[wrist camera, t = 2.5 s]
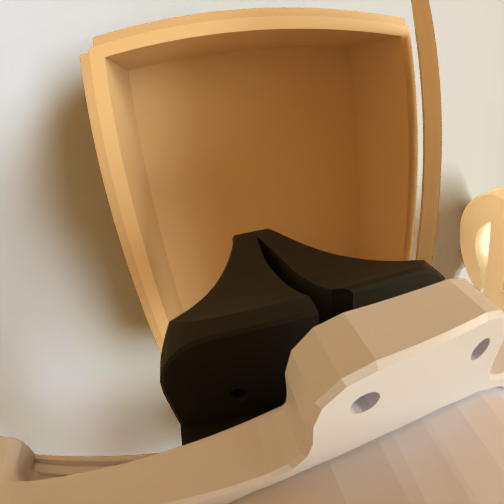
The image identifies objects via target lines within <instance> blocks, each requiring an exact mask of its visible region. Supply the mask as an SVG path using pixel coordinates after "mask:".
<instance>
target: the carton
mask: <svg viewBox="0 0 504 504" xmlns="http://www.w3.org/2000/svg"><path fill="white" fill-rule="evenodd" d="M92 39H93V47H91V48H89V53H87V54H84V55H81V56H80V61H81V69H82V76H83V83H84V90H85V96H86V102H87V108H88V113H89V119H90V124H91V129H92V134H93V139H94V144H95V149H96V153H97V158H98V162H99V166H100V170H101V175H102V179H103V183H104V187H105V191H106V194H107V198H108V202H109V206H110V209H111V213H112V216H113V220H114V223H115V227H116V230H117V233H118V237H119V240H120V243H121V247H122V250H123V253H124V256H125V259H126V262H127V265H128V268H129V271H130V274H131V277H132V280H133V283H134V286H135V288H136V291H137V294H138V297H139V300H140V302H141V305H142V308H143V310H144V313H145V316H146V318H147V321H148V323H149V326H150V328H151V331H152V333H153V336H154V338H155V341H156V343H157V346H158V348H159V351H160V353H161V352H162V347H163V342H164V338H165V334H166V330H167V327H168V324H169V322H170V321H171V320H172V319H174V318H176V317H177V316H179V315H181V314H182V313H184V312H185V311H187V310H189V309H190V308H191V307H193V306H194V305H195V304H197V303H198V302H199V301H200V300H201V299H202V298H203V297H205V296H206V295H207V294H208V292H209V291H210V290H211V289H212V288H213V287H214V285H215V284H216V283H217V281H218V280H219V278H220V276H221V275H222V273H223V271H224V269H225V266H226V264H227V262H228V260H229V257H230V253H231V250H232V245H233V241H232V238H233V237H234V235H238V234H243V233H247V232H252V231H258V230H263V229H271V230H273V231H275V232H278V233H280V234H282V235H284V236H286V237H288V238H291V239H293V240H295V241H297V242H300V243H302V244H305V245H307V246H310V247H313V248H316V249H319V250H322V251H325V252H329V253H333V254H337V255H341V256H346V257H352V258H359V259H367V260H380V261H410V260H411V254H412V246H413V236H414V225H415V212H416V196H417V171H418V126H417V102H416V86H415V74H414V64H413V55H412V47H411V39H410V32H409V26H405V20H404V18H399V17H393V16H387V15H381V14H374V13H366V12H358V11H349V10H337V9H322V8H252V9H237V10H226V11H216V12H208V13H200V14H193V15H187V16H181V17H175V18H169V19H164V20H159V21H154V22H150V23H145V24H141V25H137V26H133V27H129V28H125V29H121V30H118V31H114V32H110V33H107V34H104V35H100V36H97V37H94V38H92Z"/></svg>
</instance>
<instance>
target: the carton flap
mask: <svg viewBox="0 0 504 504" xmlns="http://www.w3.org/2000/svg"><path fill="white" fill-rule="evenodd" d="M411 3H412V10H413V17H414V26H415V35H416V42H417V50H418V58H419V68H420V79H421V93H422V112H423V179H422V199H421V213H420V225H419V235H418V245H417V253H416V260H425V261H426V262H427V263H428V264H430V265H431V263H432V257H433V250H434V243H435V235H436V227H437V218H438V207H439V195H440V180H441V155H442V118H441V93H440V79H439V67H438V57H437V49H436V41H435V34H434V27H433V21H432V15H431V10H430V5H429V0H411Z"/></svg>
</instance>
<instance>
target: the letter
mask: <svg viewBox="0 0 504 504" xmlns="http://www.w3.org/2000/svg"><path fill="white" fill-rule="evenodd" d="M460 248H461V253H462V257H463V261H464V265H465V268H466V270H467V273H468V275H469V277H470V279H471V281H472V283H473V285H474V287H475V288H477V289H478V290H479V291H480V290H482V289H483V288H484V290H483V294H484V295H485V296H486V297H488V298H489V299H490V300H491V301H492V302H493V303H495V304H496V305H497V306H498V307H499V308H500V309H502V311H503V313H504V187H499V188H495V189H493V190H491V191H489V192H486V193H484V194H482V195H480V196H478V197H476V198H474V199H473V200H471V201H470V202H469V204H468V205H467V206H466V208H465V210H464V212H463V214H462V217H461V221H460Z"/></svg>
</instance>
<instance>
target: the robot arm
mask: <svg viewBox="0 0 504 504" xmlns="http://www.w3.org/2000/svg"><path fill="white" fill-rule="evenodd" d="M232 241H233V245H232V250H231V253H230V257H229V260H228V262H227V264H226V266H225V269H224V271H223V273H222V275H221V276H220V278H219V280H218V281H217V283H216V284H215V285H214V287H213V288H212V289H211V290H210V291H209V292H208V294H207V295H206V296H205V297H203V298H202V299H201V300H200V301H199V302H198V303H197V304H195V305H194V306H193V307H191V308H190V309H189V310H187V311H185V312H184V313H182V314H181V315H179V316H177V317H176V318H174V319H172V320H171V321H170V322H169V324H168V327H167V330H166V334H165V338H164V342H163V347H162V352H161V362H160V383H161V387H162V390H163V393H164V395H165V397H166V399H167V401H168V403H169V404H170V406H171V408H172V410H173V412H174V414H175V415H176V417H177V419H178V421H179V423H180V424H181V436H182V446H180V447H177V448H174V449H171V450H168V451H165V452H162V453H155V454H143V455H127V456H94V457H85V456H53V455H38V454H34V452H33V451H32V450H31V449H30V448H29V447H28V446H27V445H26V444H25V443H23V442H22V441H20V440H18V439H16V438H12V437H3V436H0V504H504V313H503V311H502V309H500V308H499V307H498V306H497V305H496V304H495V303H493V302H492V301H491V300H490V299H489V298H488V297H486V296H485V295H484V294H483V293H482V292H480V291H479V290H478V289H477V288H475V287H474V286H473V285H472V284H471V283H469V282H468V281H467V280H466V279H447V280H445V278H444V276H443V275H442V274H440V273H439V272H438V271H437V270H436V269H434V268H433V267H432V266H431V265H430V264H428V263H427V262H426V261H425V260H410V261H380V260H367V259H359V258H352V257H346V256H341V255H337V254H333V253H329V252H325V251H322V250H319V249H316V248H313V247H310V246H307V245H305V244H302V243H300V242H297V241H295V240H293V239H291V238H288V237H286V236H284V235H282V234H280V233H278V232H275V231H273V230H271V229H263V230H258V231H252V232H247V233H243V234H238V235H234V237H233V238H232Z"/></svg>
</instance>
